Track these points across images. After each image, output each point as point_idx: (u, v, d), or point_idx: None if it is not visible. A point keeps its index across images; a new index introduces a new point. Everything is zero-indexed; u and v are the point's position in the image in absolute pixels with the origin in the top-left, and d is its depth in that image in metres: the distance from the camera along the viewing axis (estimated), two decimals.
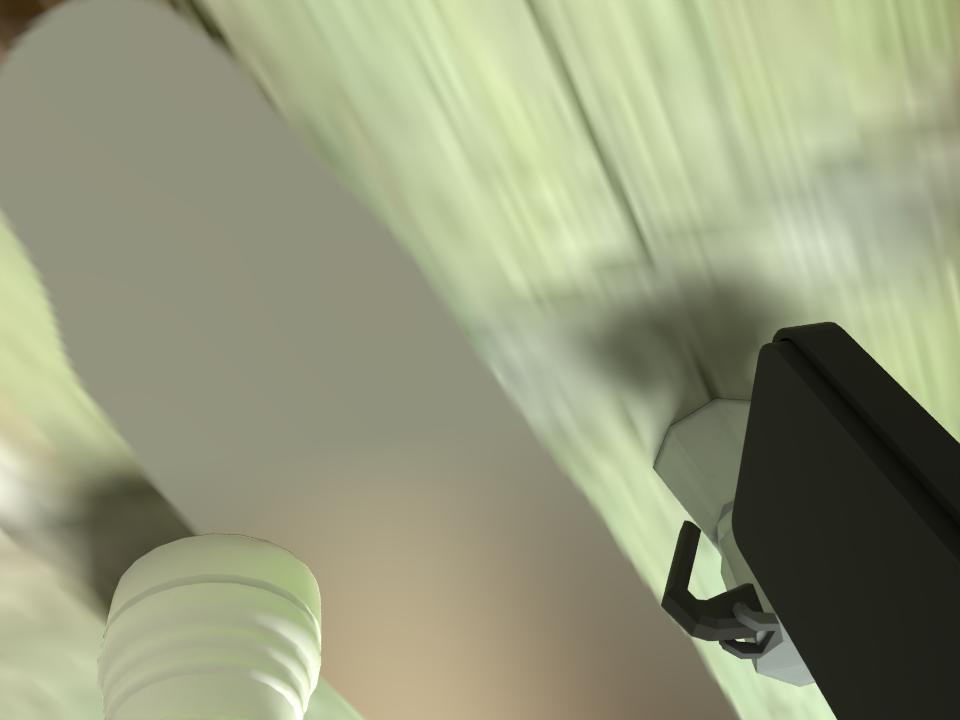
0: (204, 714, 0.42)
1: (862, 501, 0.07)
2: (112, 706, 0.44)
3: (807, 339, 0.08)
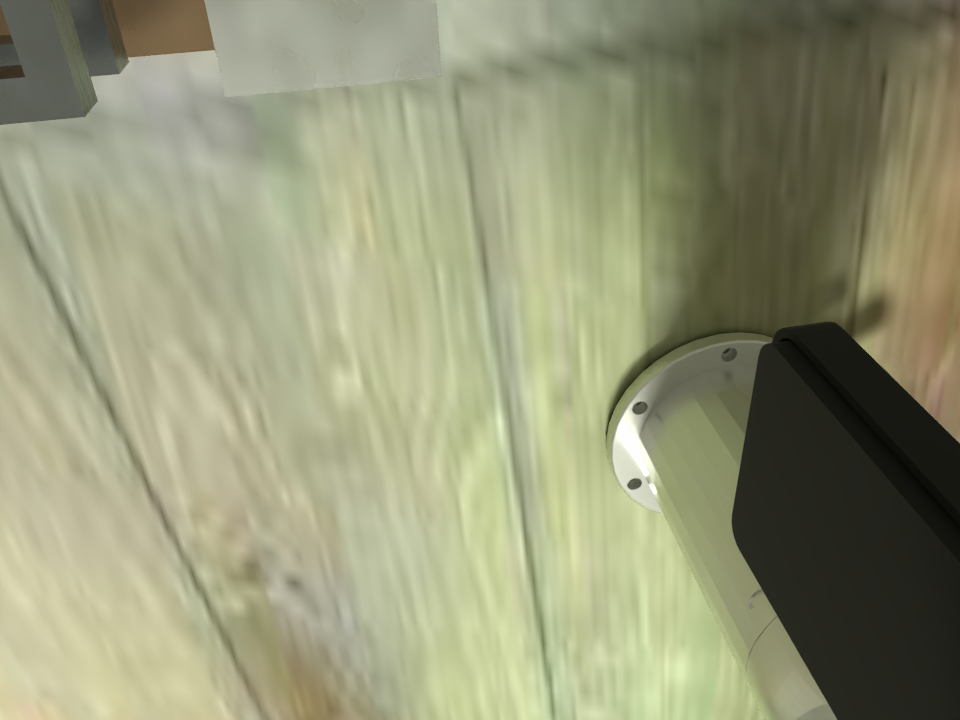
0: None
1: (862, 501, 0.07)
2: None
3: (807, 339, 0.08)
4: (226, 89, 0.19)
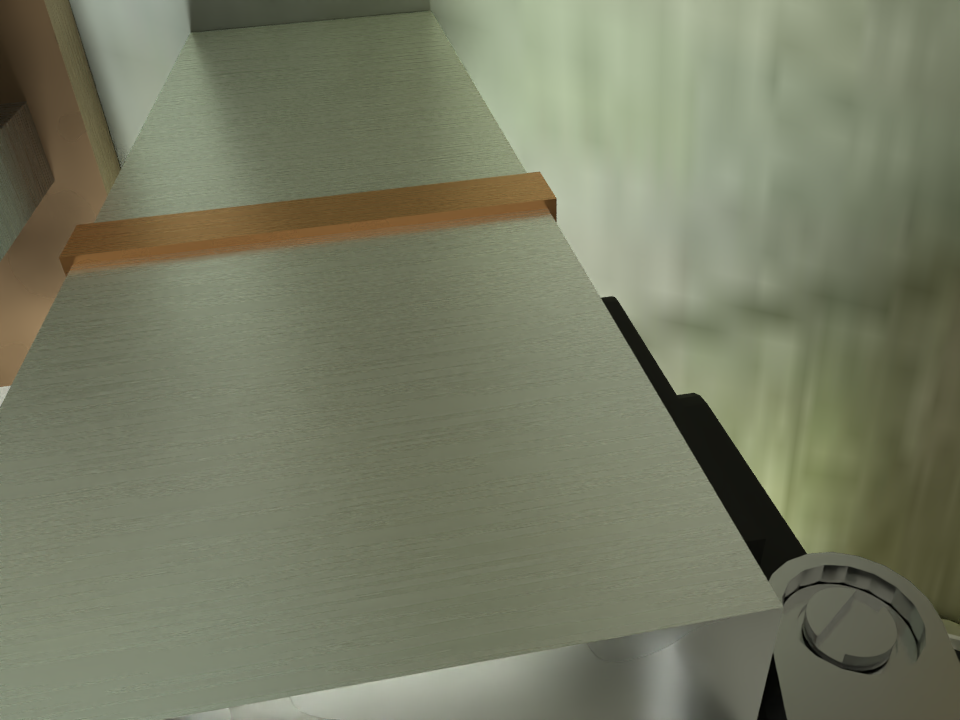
0: None
1: None
2: None
3: None
4: None
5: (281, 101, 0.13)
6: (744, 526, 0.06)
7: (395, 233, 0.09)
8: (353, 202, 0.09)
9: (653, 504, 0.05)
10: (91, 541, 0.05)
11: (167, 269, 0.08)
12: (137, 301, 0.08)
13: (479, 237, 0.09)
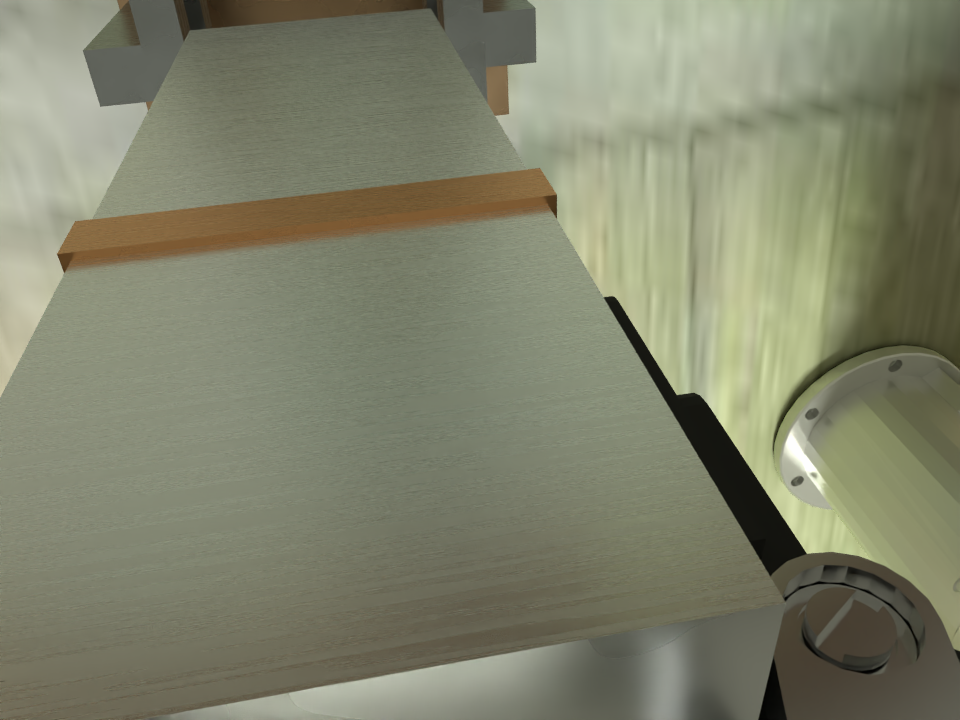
0: None
1: None
2: None
3: None
4: None
5: (280, 99, 0.13)
6: (746, 526, 0.06)
7: (395, 229, 0.09)
8: (352, 198, 0.09)
9: (652, 501, 0.05)
10: (88, 536, 0.05)
11: (166, 265, 0.08)
12: (135, 297, 0.08)
13: (479, 233, 0.09)
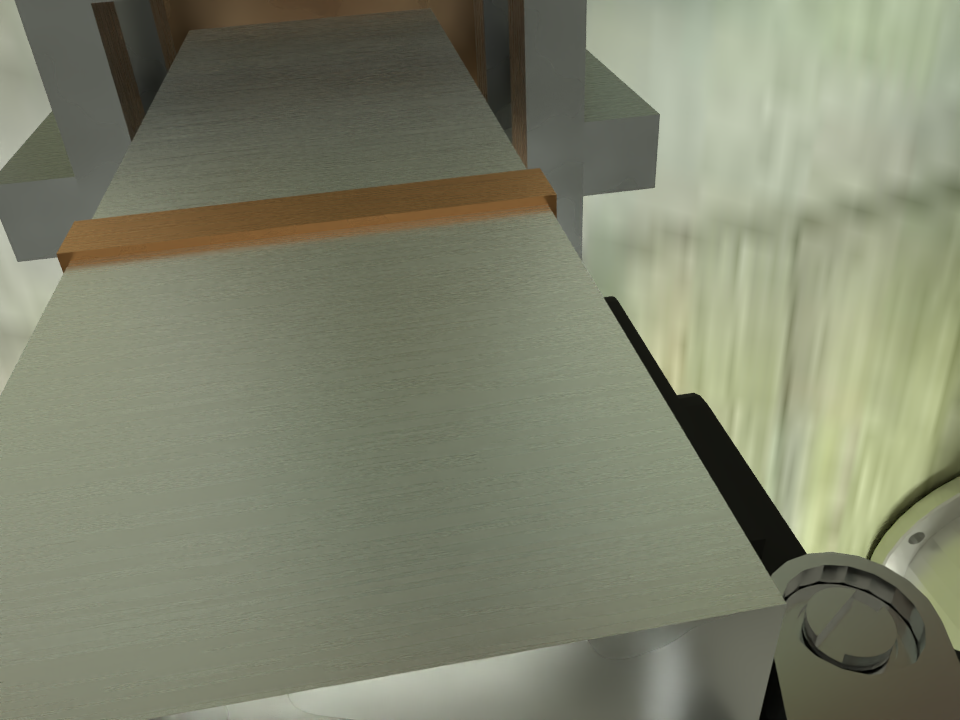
0: None
1: None
2: None
3: None
4: None
5: (279, 99, 0.13)
6: (745, 527, 0.06)
7: (394, 229, 0.09)
8: (352, 198, 0.09)
9: (653, 501, 0.05)
10: (89, 538, 0.05)
11: (165, 265, 0.08)
12: (135, 297, 0.08)
13: (479, 233, 0.09)
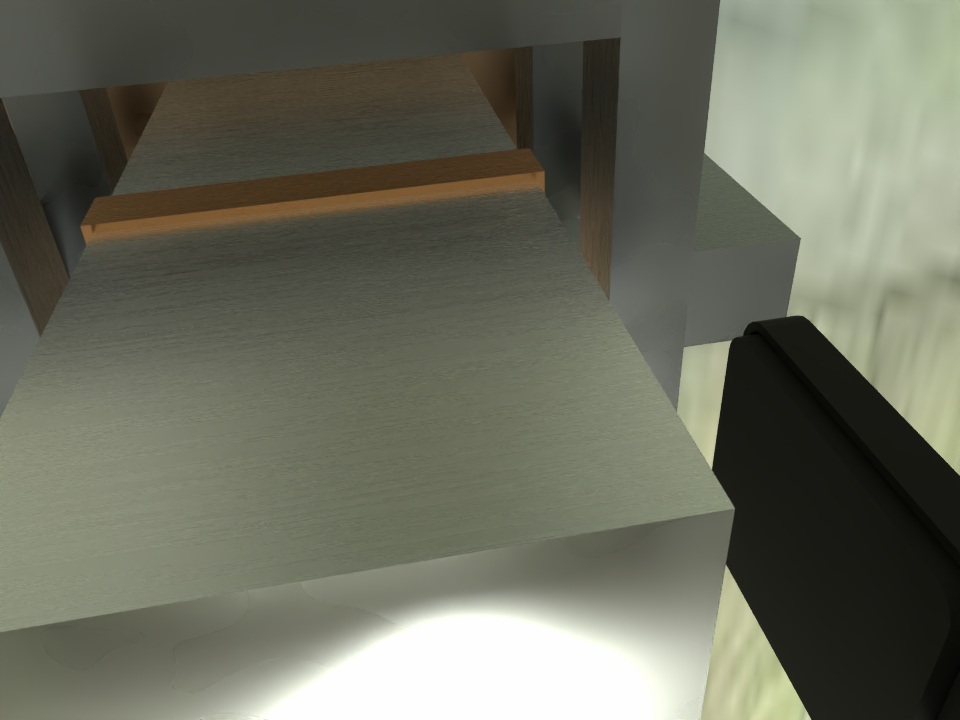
0: None
1: (824, 490, 0.07)
2: None
3: (775, 332, 0.08)
4: None
5: (285, 87, 0.13)
6: None
7: (393, 203, 0.09)
8: (354, 176, 0.10)
9: (622, 429, 0.06)
10: (122, 461, 0.06)
11: (181, 236, 0.09)
12: (154, 264, 0.08)
13: (472, 206, 0.09)
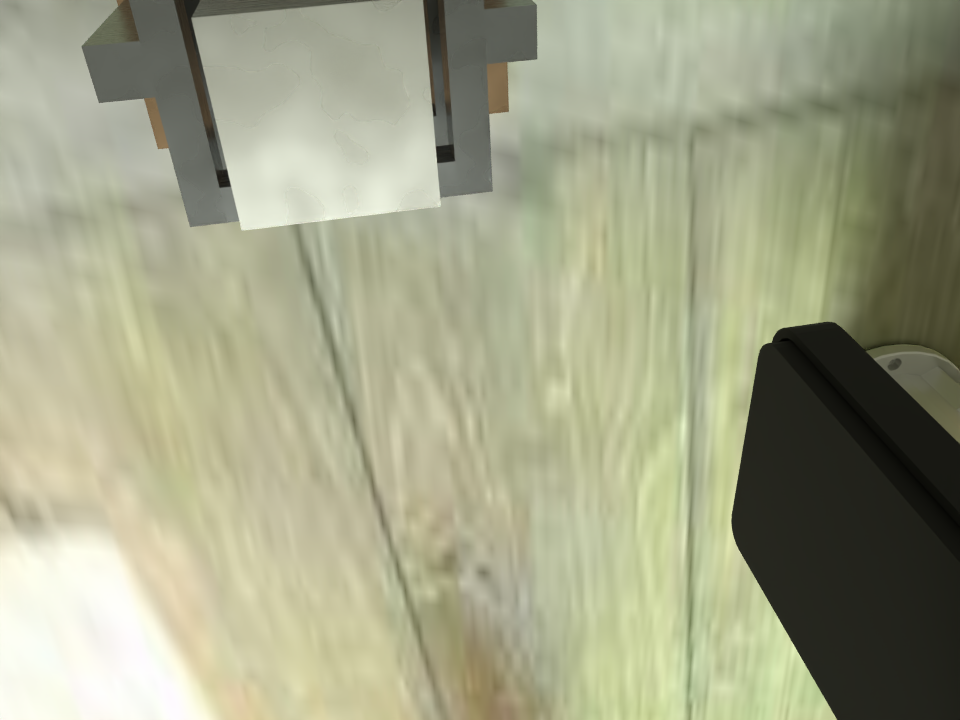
0: None
1: (862, 501, 0.07)
2: None
3: (807, 339, 0.08)
4: (242, 224, 0.20)
5: None
6: None
7: None
8: None
9: None
10: (244, 0, 0.19)
11: None
12: None
13: None
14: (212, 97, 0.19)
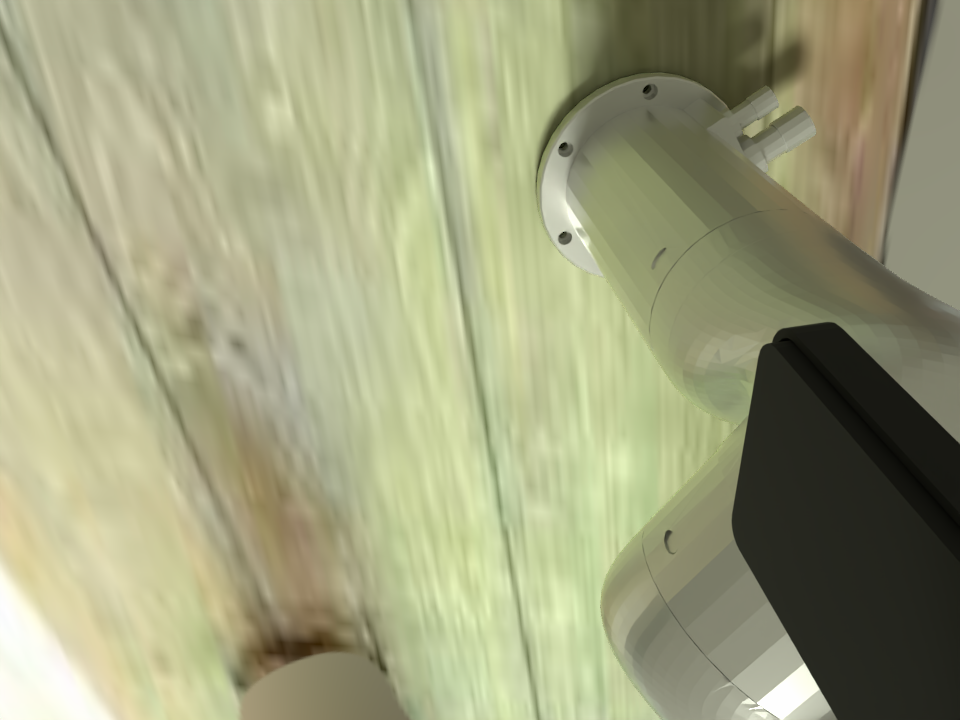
0: None
1: (862, 501, 0.07)
2: None
3: (807, 339, 0.08)
4: None
5: None
6: None
7: None
8: None
9: None
10: None
11: None
12: None
13: None
14: None
